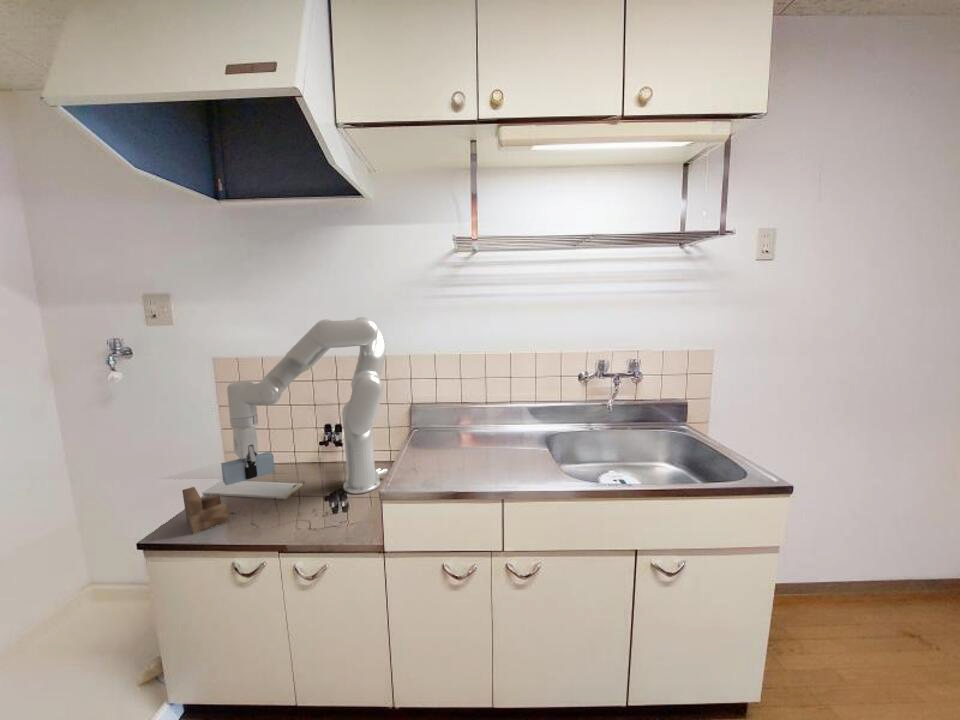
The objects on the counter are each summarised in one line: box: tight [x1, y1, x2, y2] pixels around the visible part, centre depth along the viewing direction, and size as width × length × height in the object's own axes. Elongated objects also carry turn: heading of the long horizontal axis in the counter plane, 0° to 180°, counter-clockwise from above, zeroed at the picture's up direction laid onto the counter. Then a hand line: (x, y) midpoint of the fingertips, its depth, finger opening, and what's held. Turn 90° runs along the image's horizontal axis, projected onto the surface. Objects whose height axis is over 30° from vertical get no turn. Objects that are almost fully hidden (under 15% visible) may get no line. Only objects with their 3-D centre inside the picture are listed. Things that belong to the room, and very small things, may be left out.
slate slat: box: [220, 451, 276, 486], centre depth 130 cm, size 4×14×6 cm, turn 134°
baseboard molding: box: [201, 479, 306, 500], centre depth 144 cm, size 31×3×12 cm
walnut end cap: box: [182, 486, 230, 534], centre depth 123 cm, size 9×10×10 cm
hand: (249, 474), depth 131 cm, fingers closed on slate slat, 4 cm apart
